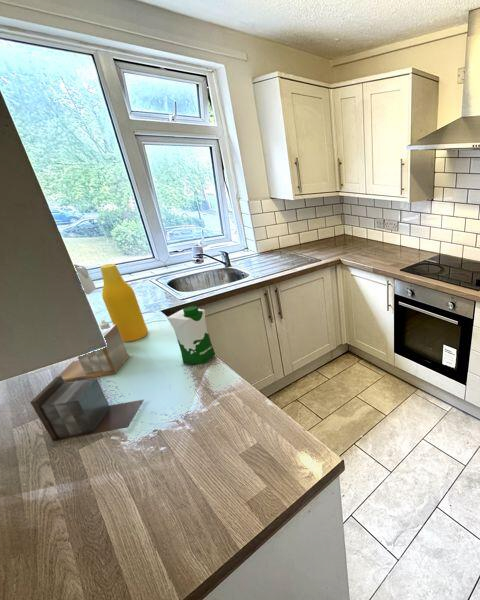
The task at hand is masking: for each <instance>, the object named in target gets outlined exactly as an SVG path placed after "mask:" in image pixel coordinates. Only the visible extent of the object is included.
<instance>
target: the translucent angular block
mask: <svg viewBox="0 0 480 600" xmlns="http://www.w3.org/2000/svg"><path fill="white" fill-rule="evenodd" d="M100 330H102V333H103V335H104V338H105V340H106V343H107V347H105V348H103V349H100V350H97V351H93V352H91V353H88V354H85V355H83V356H79V357H77V360H73V361H71V363H70V364H69V365H68V366H67V367H66V368H64V370H63V371H62V372H61V373H59V375H58V376H61V377H62V379H63V381H64V383H67V382H74V381H80V380H87V379H94V378H98V377H99V378H100V377H106V376H110V375H111V376H112V375H116V374H118V372H119V370H120V369H121V368H122V366H123V365H124V364H125V363H126V361H127V360H128V359H129V357H130V356H131V355H130V353H129V352H128V350H127V348H126V345H125V343H124V341H123V340H122V337H121V335H120V332H119V330H118V327H117V325H116V324H115V325H113V324H112V325H111V326H110V328H109V329H101V328H100Z"/></svg>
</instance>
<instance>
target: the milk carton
mask: <svg viewBox="0 0 480 600" xmlns="http://www.w3.org/2000/svg"><path fill="white" fill-rule="evenodd" d="M166 318H167V320H168V321H169V323H170V326H171V327H172V328H173V331H174V334H175V337H176V340H177V343H178V346H179V350H180V354H181V359H182V364H184V365H191V366H199V365H204V364H205V363H207V362H209V361H210V360H211V359H212V358H214V357H215V356H216V352H215V350H214V349H215V348H214V347H213V344H212V341H211V337H210V333H209V330H208V326H207V322H206V309H201V308H199V307H198V306H197V305H188V306H185V307H184V308H182V309H180V310H178V311H176V312H175V313H173V314H171V315H169V316H167V317H166Z"/></svg>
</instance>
